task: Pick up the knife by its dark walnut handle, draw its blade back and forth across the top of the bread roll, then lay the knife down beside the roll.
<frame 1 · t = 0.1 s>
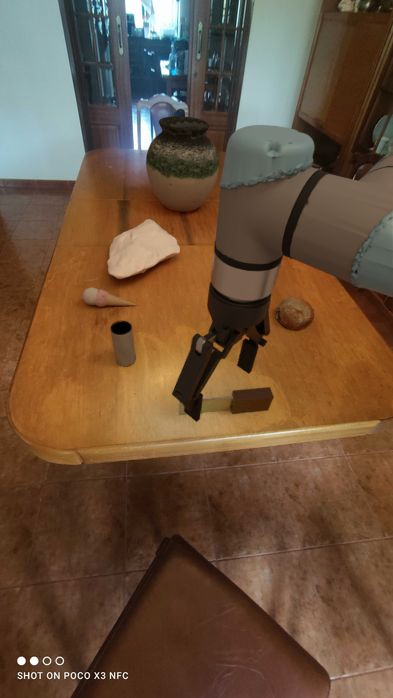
hand: (219, 390, 53), 14 cm above the table, tool pointing down, fingers open, 13 cm apart
white rock slab: (143, 261, 104), on the table
knife: (230, 409, 67), on the table
grey cylinder: (125, 360, 74), on the table
bread roll: (293, 319, 89), on the table
vase: (181, 207, 135), on the table
ice cream cone: (111, 304, 88), on the table
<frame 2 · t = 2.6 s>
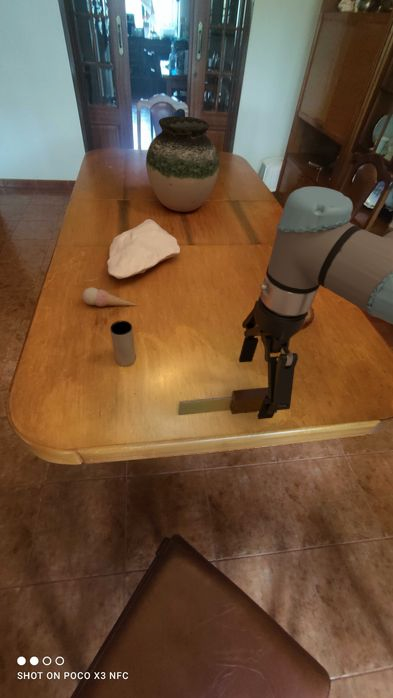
hand: (254, 386, 62), 7 cm above the table, tool pointing down, fingers open, 13 cm apart
nothing on the table moved.
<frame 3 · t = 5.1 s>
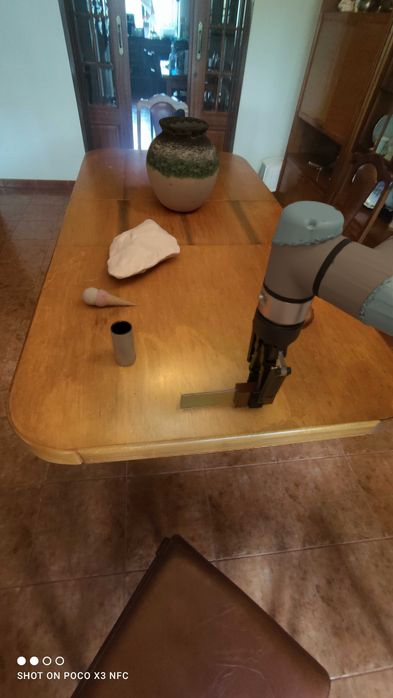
hand: (252, 400, 65), 3 cm above the table, tool pointing down, fingers closed on knife, 2 cm apart
knife: (233, 403, 65), point 3 cm above the table, touching gripper
everything else where it was.
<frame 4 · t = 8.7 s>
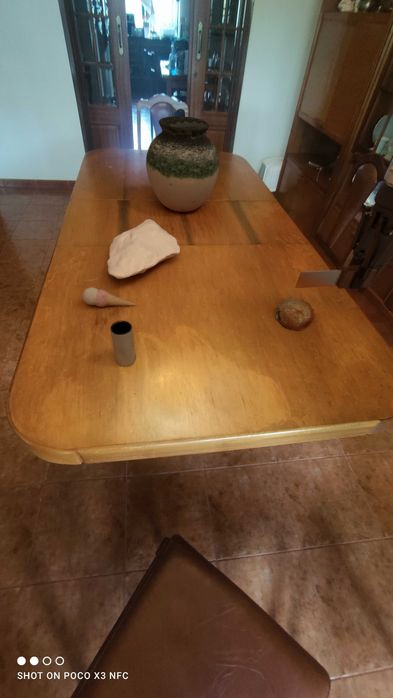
hand: (351, 283, 80), 13 cm above the table, tool pointing down, fingers closed on knife, 2 cm apart
knife: (336, 285, 79), point 12 cm above the table, touching gripper
everything else where it was.
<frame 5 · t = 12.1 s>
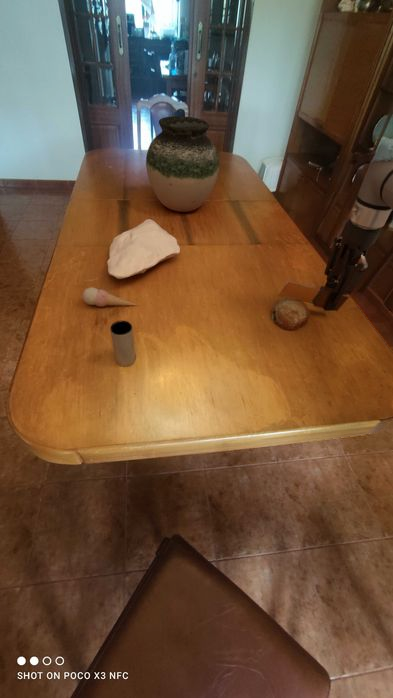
hand: (326, 305, 87), 4 cm above the table, tool pointing down, fingers closed on knife, 2 cm apart
knife: (312, 303, 86), point 5 cm above the table, tilted 17°, touching gripper
bread roll: (288, 319, 89), on the table
everything else where it was.
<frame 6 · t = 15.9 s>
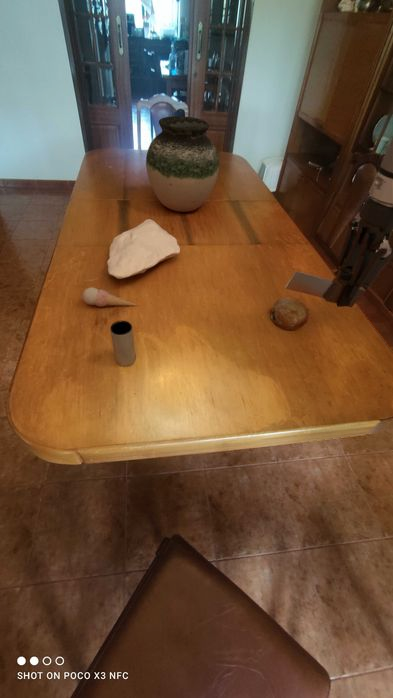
hand: (339, 301, 76), 12 cm above the table, tool pointing down, fingers closed on knife, 2 cm apart
knife: (323, 297, 74), point 13 cm above the table, tilted 17°, touching gripper
everything else where it was.
when the fingers open (0 cm above the table, at t = 19.7 s): knife stays where it is, on the table.
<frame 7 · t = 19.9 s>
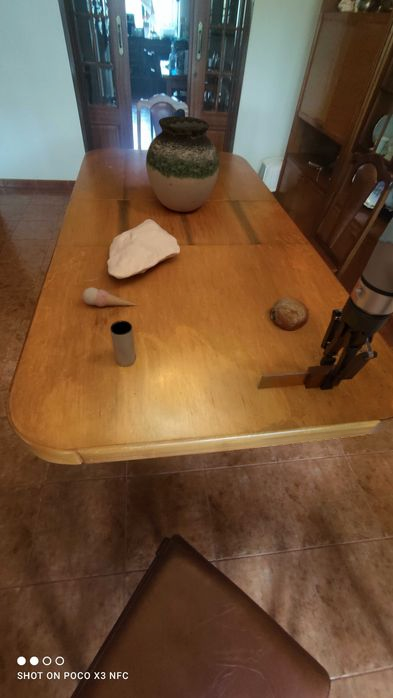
hand: (322, 382, 73), 0 cm above the table, tool pointing down, fingers open, 3 cm apart
knife: (303, 384, 73), on the table, touching gripper
everything else where it was.
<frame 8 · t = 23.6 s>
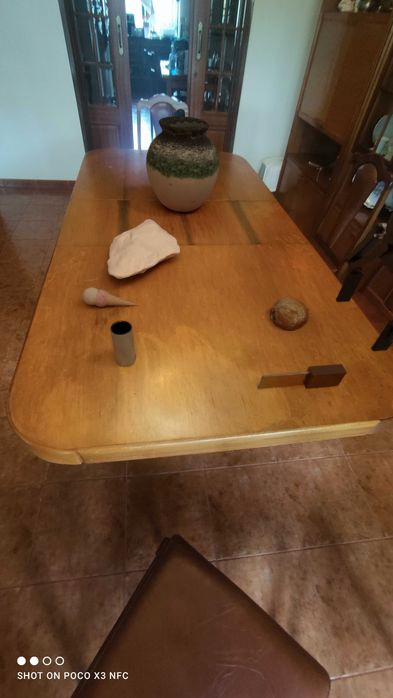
hand: (359, 323, 60), 19 cm above the table, tool pointing down, fingers open, 13 cm apart
knife: (303, 384, 73), on the table
everything else where it was.
at the end: knife inside the target area (1.0 cm from its centre), on the table; the gripper is holding nothing; bread roll moved 1.5 cm from its start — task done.
